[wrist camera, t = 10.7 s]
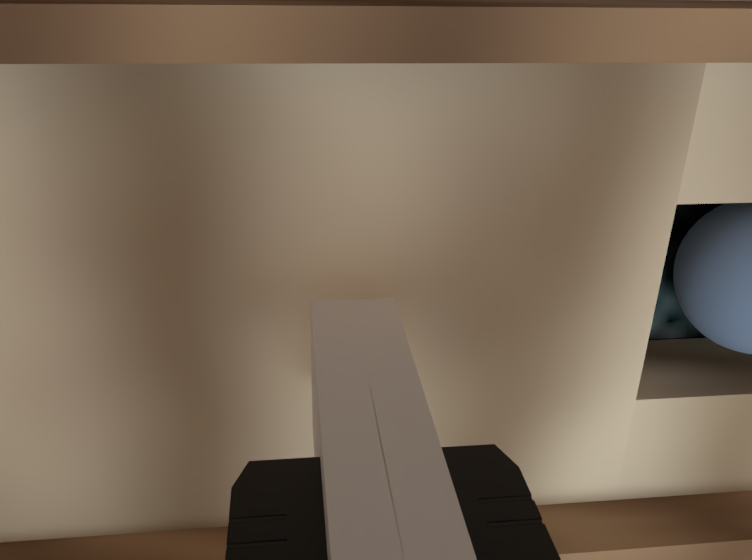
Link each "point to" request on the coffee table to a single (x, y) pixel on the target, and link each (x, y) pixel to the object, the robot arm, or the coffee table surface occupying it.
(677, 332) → the coffee table surface
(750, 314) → the ball
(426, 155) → the tray
